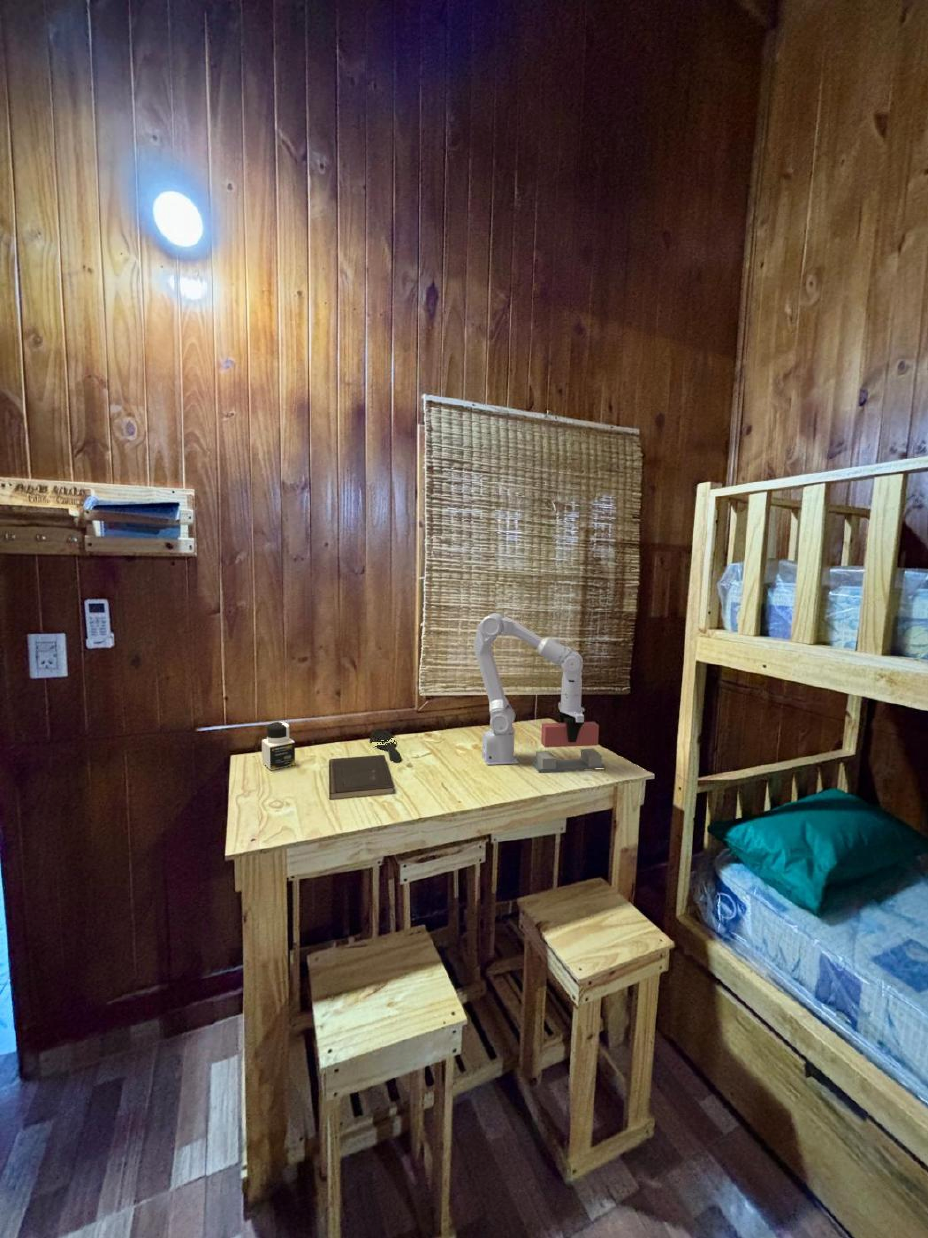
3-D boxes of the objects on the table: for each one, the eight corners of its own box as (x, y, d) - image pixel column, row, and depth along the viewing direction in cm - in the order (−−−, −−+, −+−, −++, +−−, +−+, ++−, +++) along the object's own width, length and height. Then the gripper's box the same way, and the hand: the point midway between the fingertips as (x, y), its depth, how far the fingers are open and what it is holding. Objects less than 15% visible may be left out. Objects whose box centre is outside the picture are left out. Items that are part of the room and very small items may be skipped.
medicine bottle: (270, 771, 143) (269, 729, 141) (261, 763, 148) (261, 723, 147) (295, 765, 147) (295, 724, 146) (286, 758, 153) (285, 718, 151)
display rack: (538, 772, 145) (539, 759, 145) (532, 764, 151) (532, 751, 150) (604, 769, 148) (605, 755, 148) (595, 761, 154) (596, 748, 154)
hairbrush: (384, 757, 148) (366, 727, 171) (383, 769, 149) (366, 738, 172) (411, 753, 151) (391, 725, 174) (411, 765, 152) (390, 735, 175)
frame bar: (544, 747, 146) (545, 727, 145) (541, 743, 149) (541, 723, 149) (597, 745, 149) (598, 725, 148) (593, 741, 152) (593, 721, 151)
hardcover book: (384, 762, 152) (384, 754, 152) (394, 795, 130) (394, 786, 130) (328, 766, 148) (328, 759, 148) (329, 801, 126) (329, 792, 126)
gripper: (595, 699, 141) (592, 747, 142) (574, 687, 155) (572, 731, 157) (570, 700, 140) (568, 748, 141) (552, 688, 154) (550, 732, 155)
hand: (569, 739), depth 149 cm, fingers closed on frame bar, 3 cm apart
